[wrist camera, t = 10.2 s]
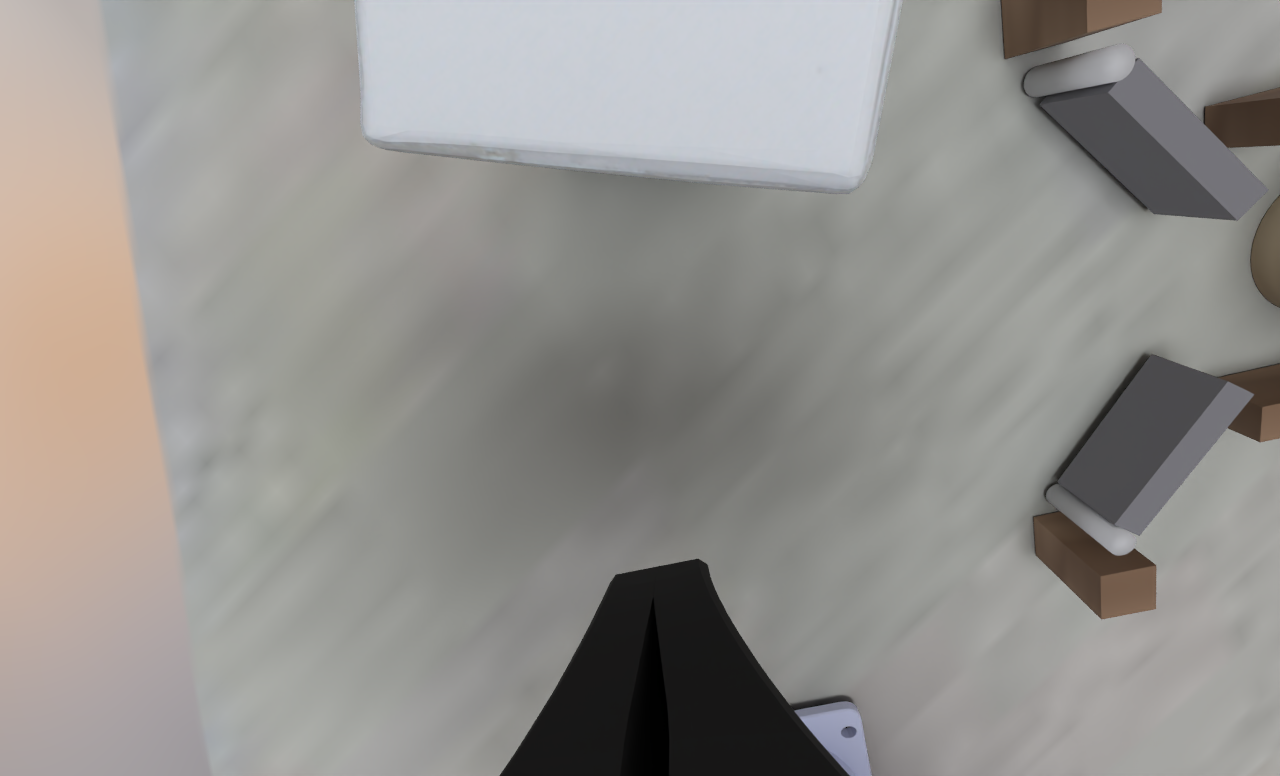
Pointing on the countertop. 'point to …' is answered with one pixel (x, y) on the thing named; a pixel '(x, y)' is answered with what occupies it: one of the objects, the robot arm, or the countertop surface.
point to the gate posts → (1108, 584)
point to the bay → (1247, 125)
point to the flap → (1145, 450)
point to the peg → (1268, 255)
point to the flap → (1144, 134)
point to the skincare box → (634, 86)
